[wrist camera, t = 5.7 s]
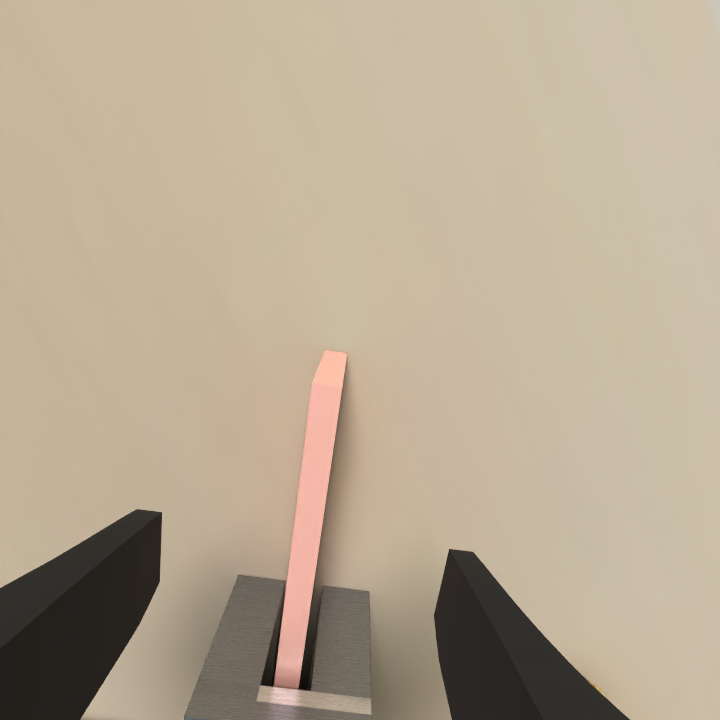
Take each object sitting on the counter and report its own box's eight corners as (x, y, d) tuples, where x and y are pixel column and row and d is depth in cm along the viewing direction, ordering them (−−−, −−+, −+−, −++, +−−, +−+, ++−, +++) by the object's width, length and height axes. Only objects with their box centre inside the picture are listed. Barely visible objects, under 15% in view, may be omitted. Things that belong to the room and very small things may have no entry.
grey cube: (227, 693, 24) (175, 864, 17) (238, 575, 22) (184, 716, 15) (347, 707, 24) (341, 882, 17) (369, 591, 22) (371, 738, 15)
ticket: (292, 593, 22) (273, 686, 17) (324, 349, 18) (312, 383, 14) (311, 595, 22) (298, 689, 17) (347, 353, 18) (342, 387, 14)
